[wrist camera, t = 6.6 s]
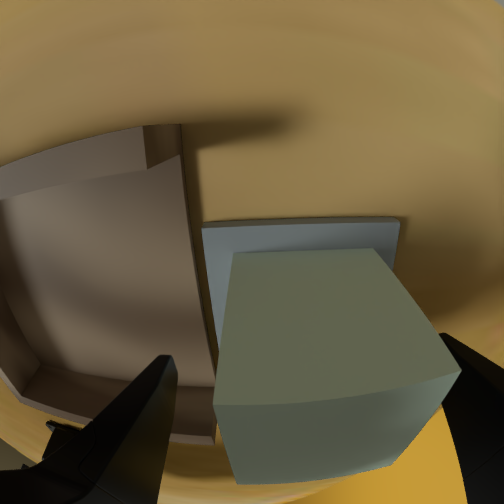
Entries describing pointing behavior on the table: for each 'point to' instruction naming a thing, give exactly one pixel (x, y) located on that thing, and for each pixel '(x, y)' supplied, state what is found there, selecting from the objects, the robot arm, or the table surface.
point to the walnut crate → (102, 278)
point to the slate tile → (288, 244)
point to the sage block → (323, 366)
